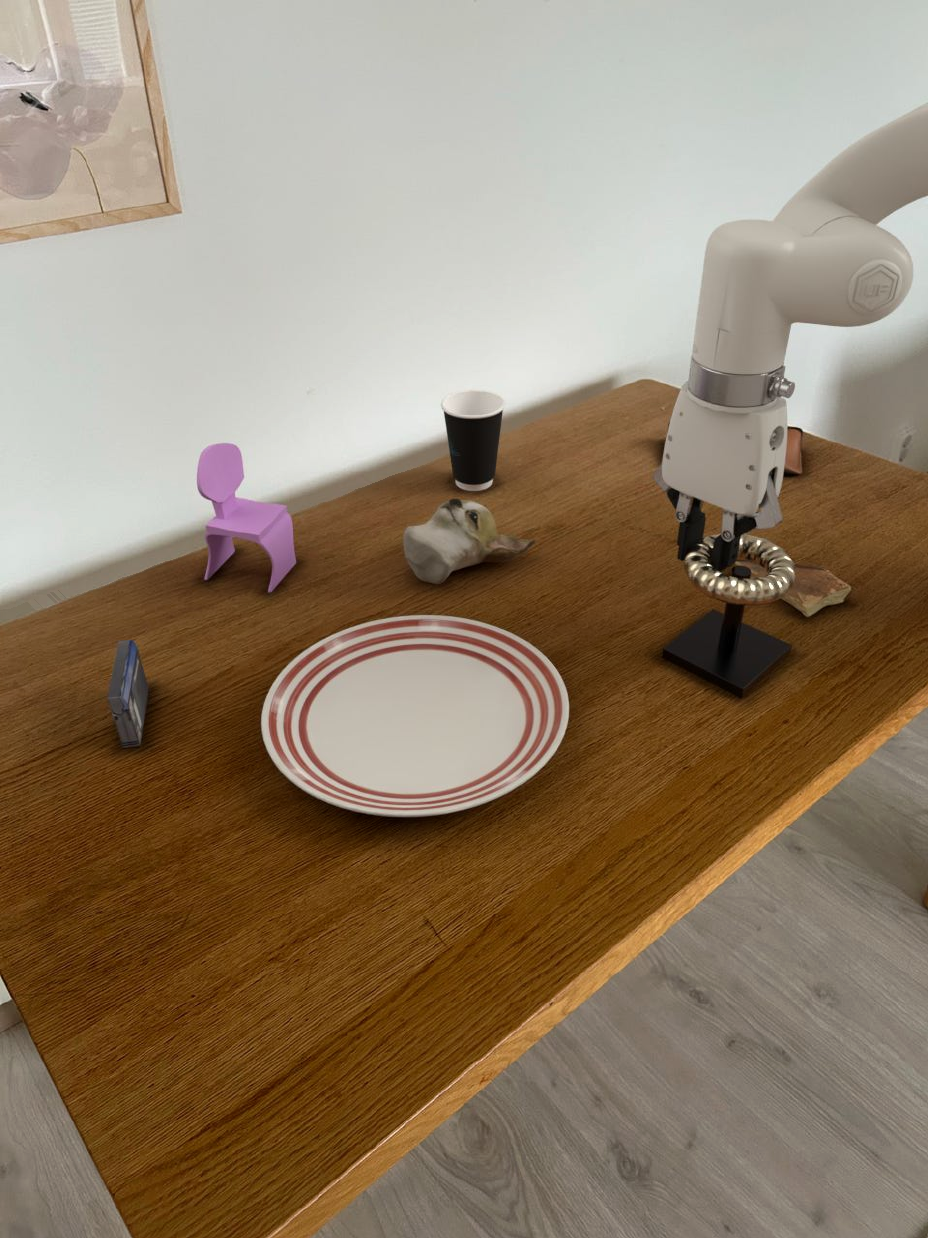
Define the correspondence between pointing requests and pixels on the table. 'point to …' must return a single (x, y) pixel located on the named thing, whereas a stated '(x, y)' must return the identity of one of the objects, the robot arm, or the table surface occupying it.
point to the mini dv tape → (128, 694)
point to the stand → (727, 648)
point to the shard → (808, 587)
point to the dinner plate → (415, 716)
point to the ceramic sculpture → (458, 541)
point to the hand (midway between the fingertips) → (705, 560)
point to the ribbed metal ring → (740, 588)
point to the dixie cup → (473, 436)
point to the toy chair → (241, 514)
